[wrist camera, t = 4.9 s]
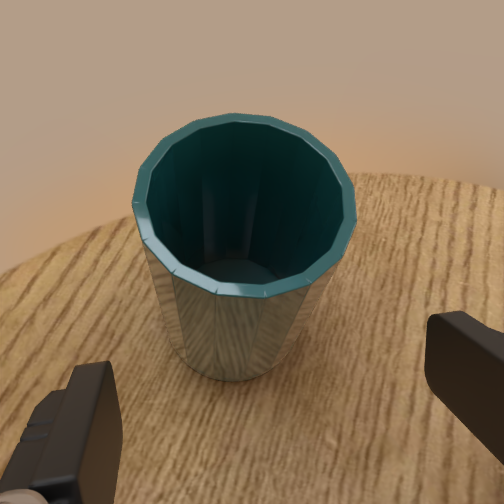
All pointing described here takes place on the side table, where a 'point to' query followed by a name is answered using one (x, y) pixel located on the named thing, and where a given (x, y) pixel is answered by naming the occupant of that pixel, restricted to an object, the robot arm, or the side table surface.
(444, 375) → the robot arm
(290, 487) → the side table surface
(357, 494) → the side table surface
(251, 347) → the cutlery cup
